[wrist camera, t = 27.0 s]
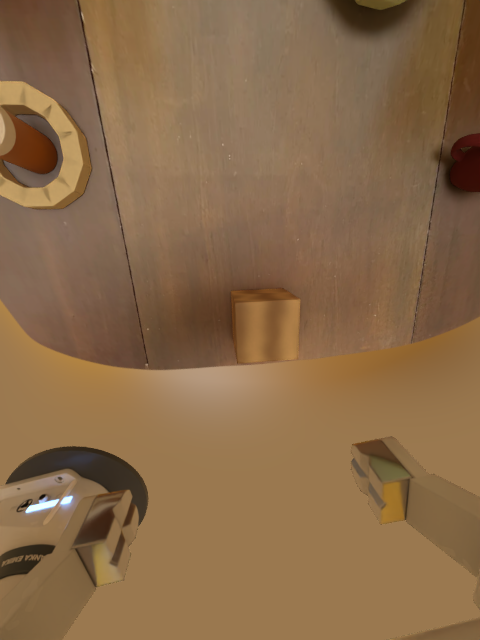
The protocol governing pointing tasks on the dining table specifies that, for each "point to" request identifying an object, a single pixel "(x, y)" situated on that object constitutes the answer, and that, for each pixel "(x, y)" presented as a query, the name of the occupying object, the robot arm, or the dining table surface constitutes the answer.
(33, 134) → the amber bottle
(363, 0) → the decorative sphere
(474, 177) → the mug
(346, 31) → the dining table surface
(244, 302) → the block stand
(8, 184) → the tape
